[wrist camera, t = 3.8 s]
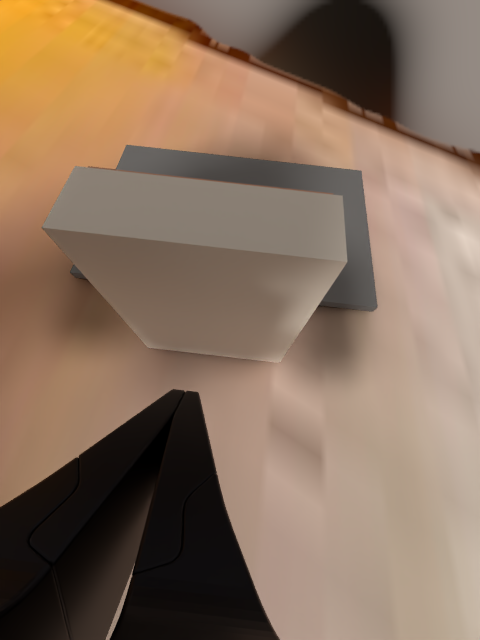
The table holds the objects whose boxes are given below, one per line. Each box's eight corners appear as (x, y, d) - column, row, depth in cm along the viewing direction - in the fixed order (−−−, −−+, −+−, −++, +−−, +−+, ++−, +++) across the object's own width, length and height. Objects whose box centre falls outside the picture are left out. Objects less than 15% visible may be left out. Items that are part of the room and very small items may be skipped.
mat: (372, 311, 18) (377, 307, 17) (74, 277, 18) (70, 272, 17) (358, 177, 23) (361, 170, 22) (128, 151, 23) (126, 144, 23)
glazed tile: (279, 363, 16) (347, 261, 7) (147, 347, 16) (41, 227, 7) (281, 322, 17) (342, 188, 8) (158, 308, 17) (78, 159, 8)
